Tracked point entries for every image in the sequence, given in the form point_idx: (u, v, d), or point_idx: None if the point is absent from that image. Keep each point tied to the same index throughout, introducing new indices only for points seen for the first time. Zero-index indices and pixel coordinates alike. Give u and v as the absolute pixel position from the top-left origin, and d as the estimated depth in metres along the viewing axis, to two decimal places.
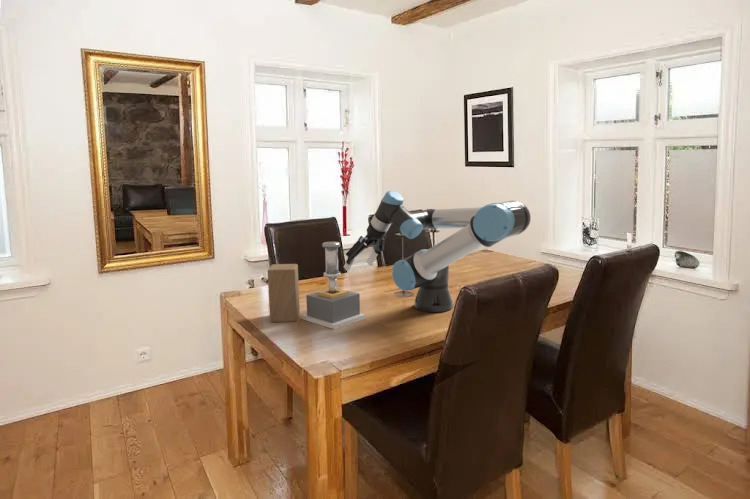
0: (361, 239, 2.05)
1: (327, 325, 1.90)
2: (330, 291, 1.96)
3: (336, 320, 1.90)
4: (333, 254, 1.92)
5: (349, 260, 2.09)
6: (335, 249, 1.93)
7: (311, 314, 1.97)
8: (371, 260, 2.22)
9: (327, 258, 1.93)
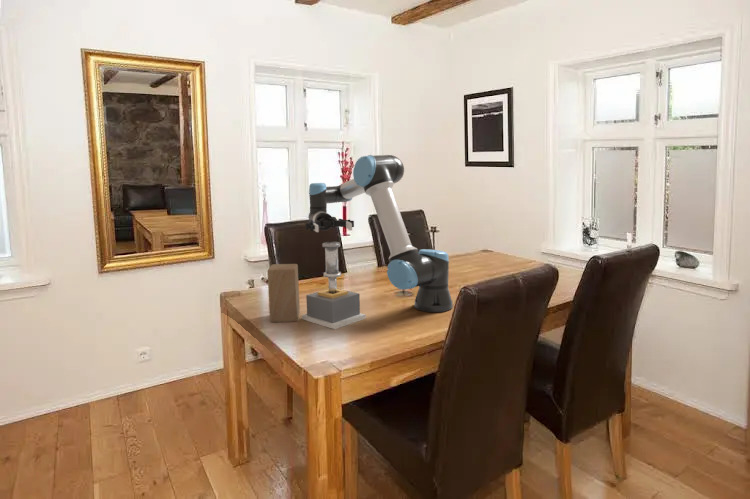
0: None
1: (327, 325, 1.90)
2: (330, 291, 1.96)
3: (336, 320, 1.90)
4: (333, 254, 1.92)
5: (311, 225, 2.12)
6: (335, 249, 1.93)
7: (311, 314, 1.97)
8: (348, 224, 2.13)
9: (327, 258, 1.93)
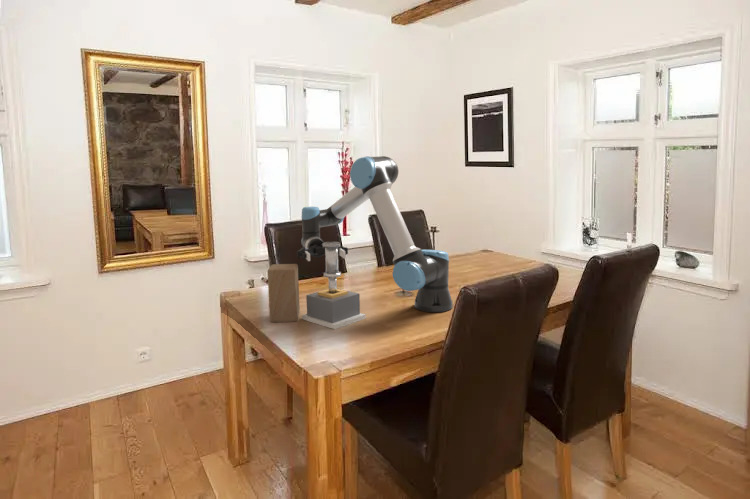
0: None
1: (327, 325, 1.90)
2: (330, 291, 1.96)
3: (336, 320, 1.90)
4: (333, 254, 1.92)
5: (302, 253, 2.03)
6: (335, 249, 1.93)
7: (311, 314, 1.97)
8: (341, 252, 2.04)
9: (327, 258, 1.93)
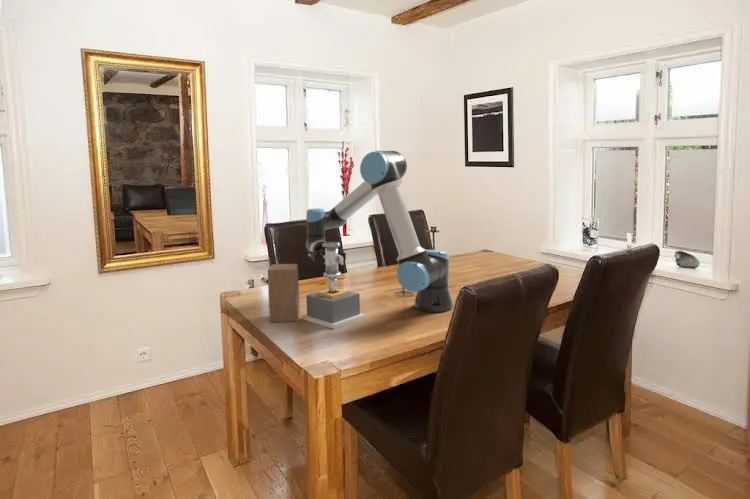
0: (308, 254, 2.03)
1: (327, 325, 1.90)
2: (330, 291, 1.96)
3: (336, 320, 1.90)
4: (333, 254, 1.92)
5: (320, 258, 1.94)
6: (335, 249, 1.93)
7: (311, 314, 1.97)
8: (339, 258, 1.93)
9: None
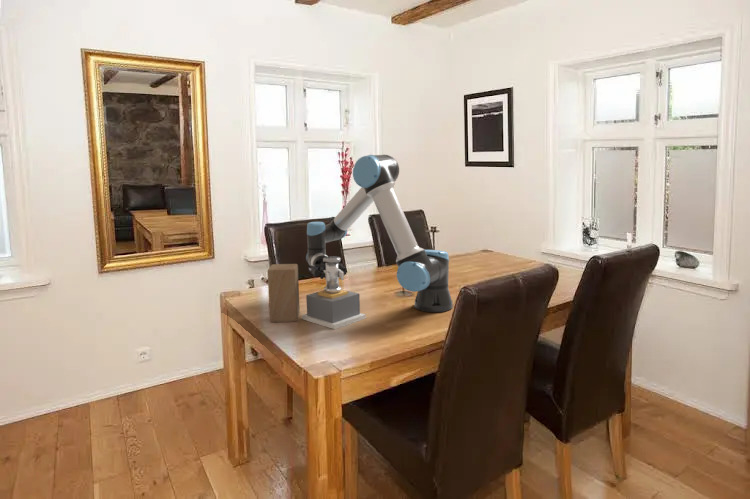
0: (309, 269, 2.04)
1: (327, 325, 1.90)
2: None
3: (336, 320, 1.90)
4: (333, 269, 1.93)
5: (321, 273, 1.95)
6: (335, 264, 1.94)
7: (311, 314, 1.97)
8: (340, 273, 1.94)
9: None
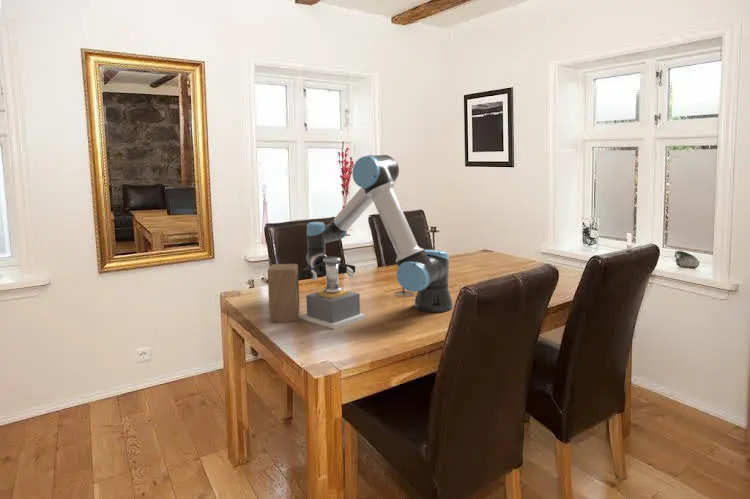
0: None
1: (327, 325, 1.90)
2: None
3: (336, 320, 1.90)
4: (333, 269, 1.93)
5: (308, 273, 1.96)
6: (335, 264, 1.94)
7: (311, 314, 1.97)
8: (349, 271, 1.97)
9: (328, 273, 1.94)
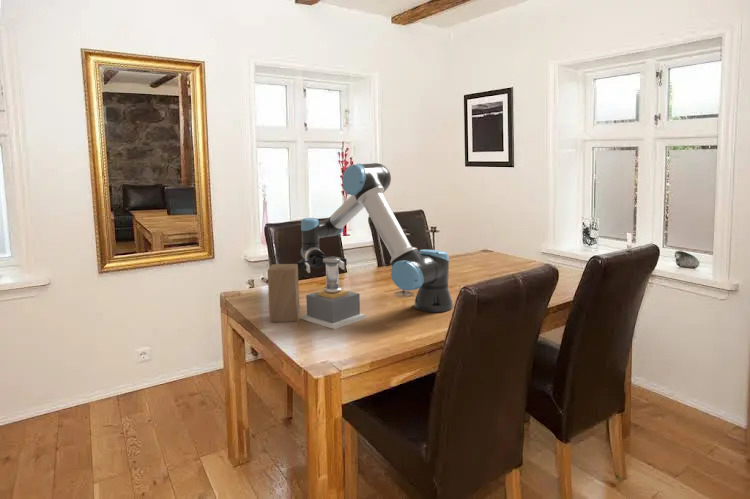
0: None
1: (327, 325, 1.90)
2: None
3: (336, 320, 1.90)
4: (333, 269, 1.93)
5: (302, 265, 2.08)
6: (335, 264, 1.94)
7: (311, 314, 1.97)
8: (340, 263, 2.09)
9: (328, 273, 1.94)
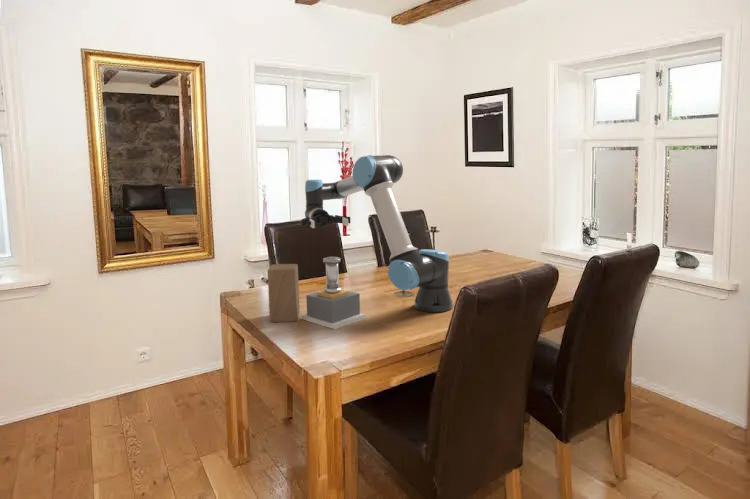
0: None
1: (327, 325, 1.90)
2: None
3: (336, 320, 1.90)
4: (333, 269, 1.93)
5: (307, 221, 2.10)
6: (335, 264, 1.94)
7: (311, 314, 1.97)
8: (344, 220, 2.12)
9: (328, 273, 1.94)
